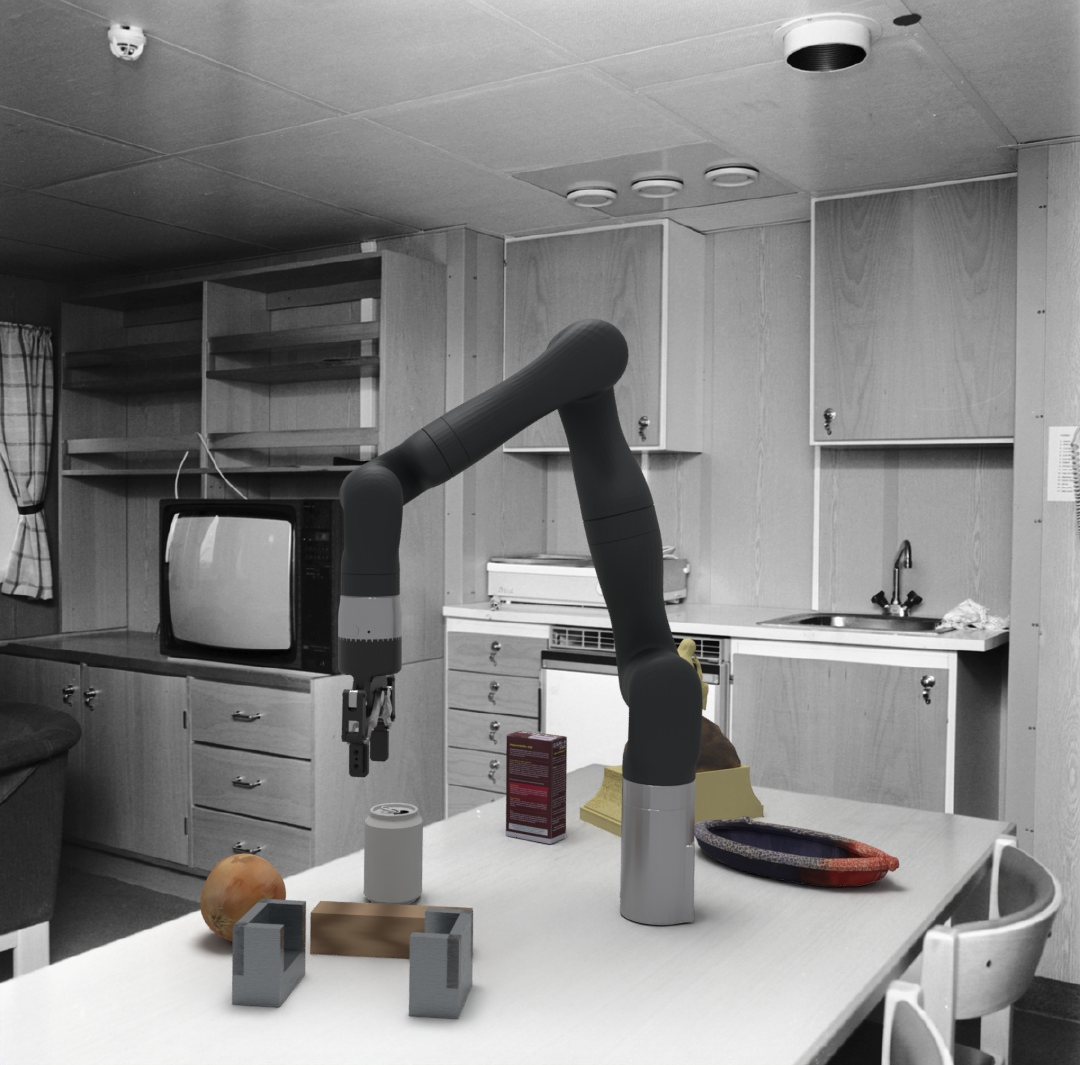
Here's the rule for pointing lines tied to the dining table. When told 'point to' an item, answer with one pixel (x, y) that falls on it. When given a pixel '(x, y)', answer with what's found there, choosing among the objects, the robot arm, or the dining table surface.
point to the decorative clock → (716, 780)
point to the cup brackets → (280, 952)
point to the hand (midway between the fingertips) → (369, 768)
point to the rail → (366, 928)
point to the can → (393, 854)
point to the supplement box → (536, 786)
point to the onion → (238, 891)
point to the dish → (792, 853)
